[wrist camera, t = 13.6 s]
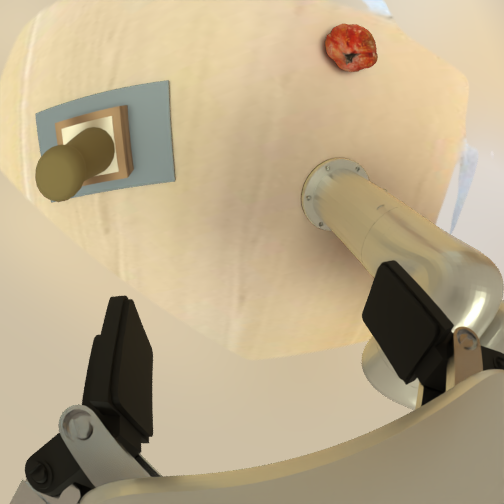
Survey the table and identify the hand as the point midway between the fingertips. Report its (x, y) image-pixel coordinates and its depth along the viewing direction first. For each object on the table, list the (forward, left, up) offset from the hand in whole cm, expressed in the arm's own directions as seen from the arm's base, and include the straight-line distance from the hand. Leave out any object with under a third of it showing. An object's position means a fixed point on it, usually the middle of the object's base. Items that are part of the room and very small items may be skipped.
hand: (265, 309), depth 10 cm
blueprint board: (+15, -3, -30) cm, 34 cm away
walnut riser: (+15, -3, -29) cm, 33 cm away
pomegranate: (-19, -16, -31) cm, 39 cm away
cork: (+15, -3, -25) cm, 29 cm away
